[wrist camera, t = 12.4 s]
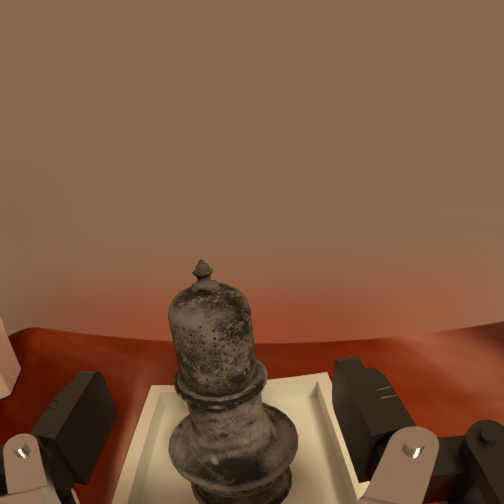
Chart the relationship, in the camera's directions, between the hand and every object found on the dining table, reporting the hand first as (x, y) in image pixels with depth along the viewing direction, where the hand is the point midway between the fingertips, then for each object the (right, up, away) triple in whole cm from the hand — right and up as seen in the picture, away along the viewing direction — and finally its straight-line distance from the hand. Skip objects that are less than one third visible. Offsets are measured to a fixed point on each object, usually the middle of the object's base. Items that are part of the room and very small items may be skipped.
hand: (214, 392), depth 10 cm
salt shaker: (+1, -7, +4) cm, 8 cm away
